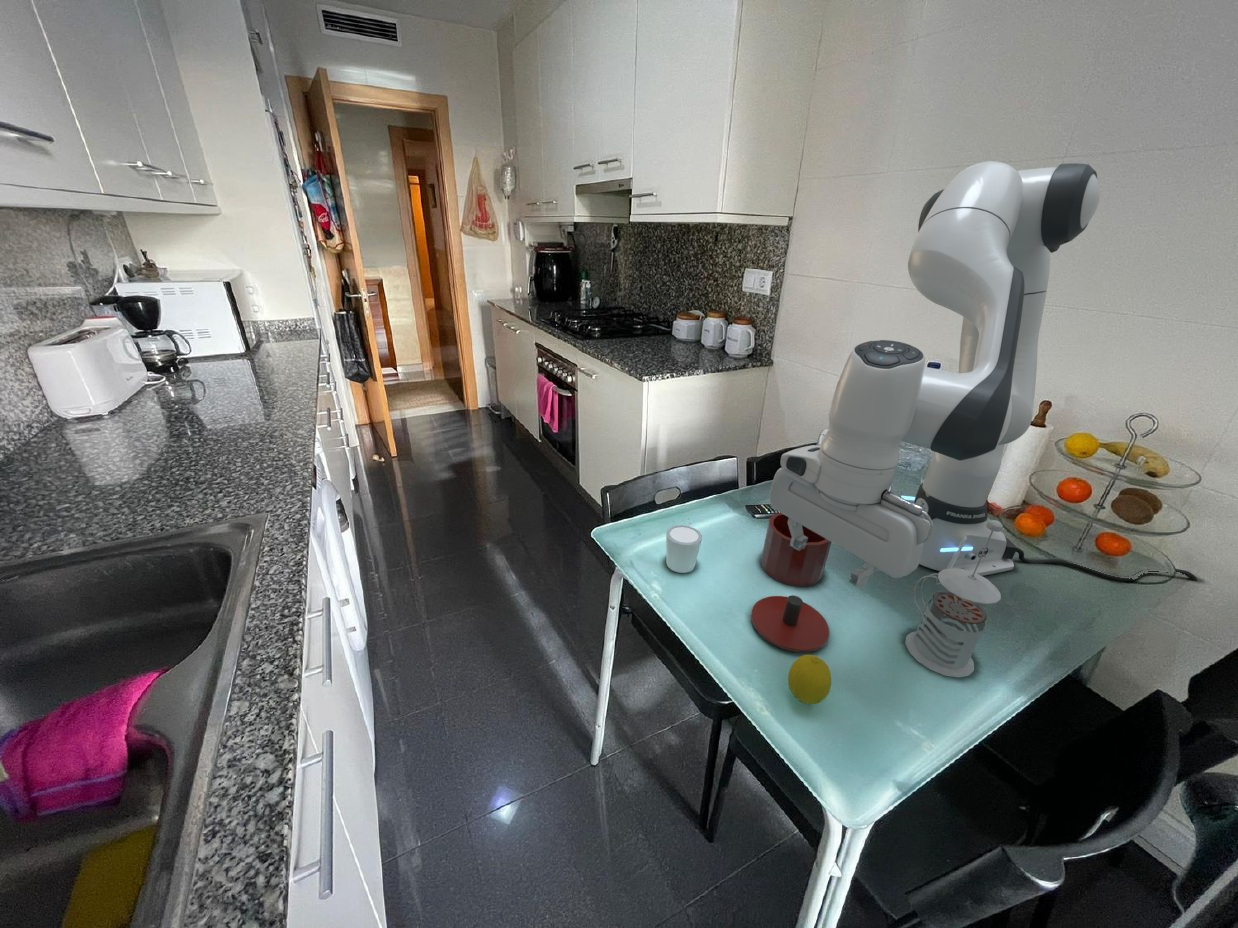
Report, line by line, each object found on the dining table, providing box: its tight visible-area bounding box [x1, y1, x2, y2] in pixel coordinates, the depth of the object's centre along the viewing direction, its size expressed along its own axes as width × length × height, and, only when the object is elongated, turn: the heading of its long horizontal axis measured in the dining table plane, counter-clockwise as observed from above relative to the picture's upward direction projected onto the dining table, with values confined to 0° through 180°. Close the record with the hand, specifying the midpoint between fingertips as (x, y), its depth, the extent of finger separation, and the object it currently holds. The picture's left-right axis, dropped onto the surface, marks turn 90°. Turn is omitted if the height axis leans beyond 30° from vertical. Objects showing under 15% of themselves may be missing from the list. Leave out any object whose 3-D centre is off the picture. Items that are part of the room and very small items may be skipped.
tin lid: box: [750, 594, 830, 653], centre depth 83 cm, size 13×13×6 cm
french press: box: [904, 519, 1004, 679], centre depth 76 cm, size 10×12×25 cm
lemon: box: [787, 654, 832, 705], centre depth 70 cm, size 6×6×8 cm
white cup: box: [665, 524, 703, 574], centre depth 97 cm, size 7×7×7 cm
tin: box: [760, 512, 833, 587], centre depth 97 cm, size 12×12×10 cm
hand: (825, 564), depth 68 cm, fingers open, 8 cm apart
